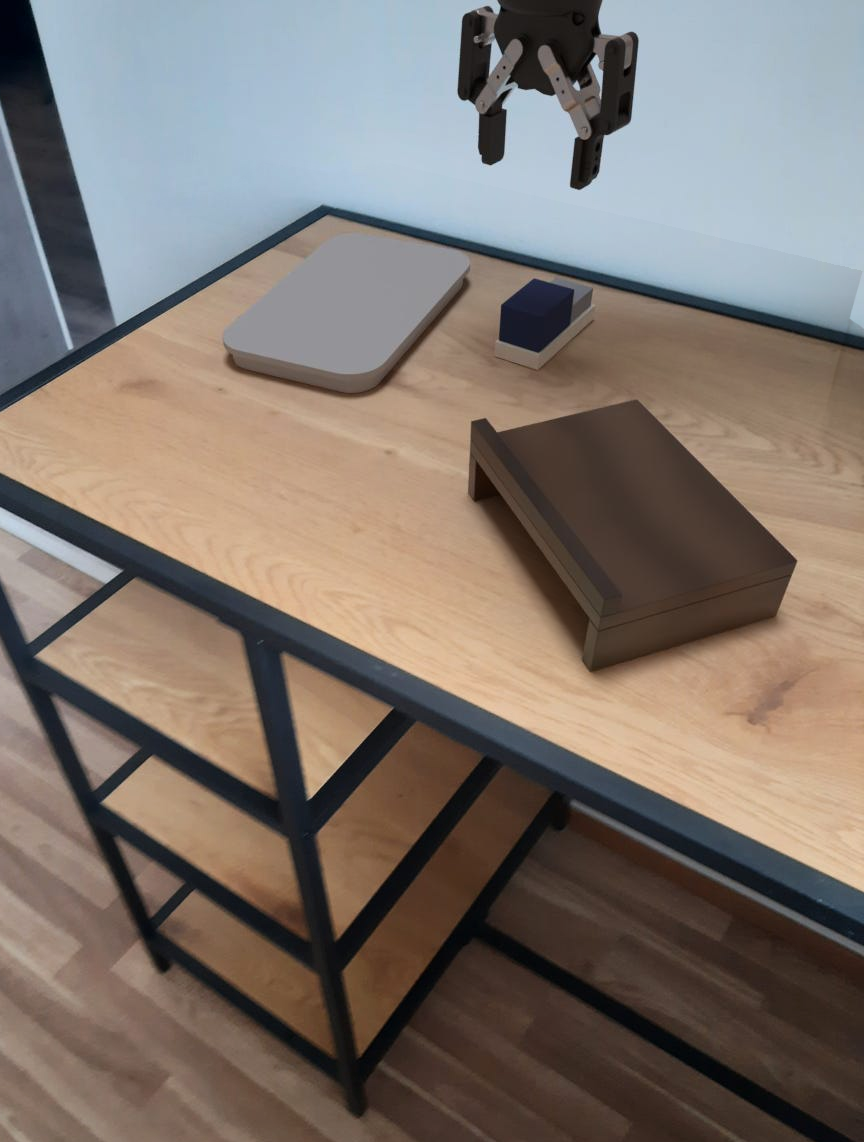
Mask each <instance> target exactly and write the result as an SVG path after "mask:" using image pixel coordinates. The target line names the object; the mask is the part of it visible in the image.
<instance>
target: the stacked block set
mask: <svg viewBox="0 0 864 1142" xmlns="http://www.w3.org/2000/svg"><path fill="white" fill-rule="evenodd" d="M593 293H594V287H592V286H589V285H585V284H582V283H577V282H574V281H571V280H567V279H563V278H560V277H555V278H553V279H552V280H551V281H550V282H549V281H546V280H542V279H538V278H532V279H531V280H530V281H528V282H527V283H526V284H525V285H524V286H522V287H521V288H520V289H518V290H517V291H516V292H515V293H514V294H513V295H511V296H510V297H509V298H507V299H506V300H505V301H504V302H502V303H501V304H500V316H499V317H500V318H499V330H498V331H499V332H498V338H497V339H496V340H495V341H494V351H493V354H494V357H495V358H499V359H501V360H506V361H507V362H510V363H514V364H517V365H521V366H523V367H527V368H529V369H533V370H536V371H539V370H540V369H541V368H542V367H543V366H544V365H545V364H547V362H549V361H550V360H551V359H552V358H554V356H555V355H557V353H558V352H559V351H560V350H561V349H563V348H564V347H565V346H566V345H567V344H568V343H569V342H570V341H571V340H573V339H574V338H575V337H576V336H577V335H578V334H579V333H580V332H581V331H582V330H583V329H584V328H585V327H587V326H588V325H589V324H590V323H591V322H592V321H593V320H594V317H595V308H596V304H593V303H592V300H593Z"/></svg>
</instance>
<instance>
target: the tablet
mask: <svg viewBox="0 0 864 1142" xmlns="http://www.w3.org/2000/svg"><path fill="white" fill-rule="evenodd" d="M470 270H471V260H470V258H469V256H468V255H467V254H465V253H464V252H462V251H459V250H456V249H453V248H447V247H441V246H436V245H431V244H424V243H419V242H414V241H407V240H402V239H397V238H391V237H385V236H380V235H376V234H375V235H374V234H368V233H361V232H350V233H349V232H348V233H342V234H338V235H335V236H332V237H329V238H328V239H326V240H325V241H324V242H323V243H322V244H320V245H319V246H318V247H317V248H316V249H315V250H313V251H312V252H311V253H310V254H309V255H308V256H307V257H306V258H304V259H303V260H302V261H301V262H300V263H299V264H297V266H295V267H294V268H293V269H292V270H291V271H290V272H288V273H287V274H286V275H285V276H284V277H282V279H280V281H278V282H277V283H276V284H275V285H274V286H273V287H272V288H270V289H269V290H268V291H267V292H265V293H264V294H263V295H262V296H261V297H260V298H259V299H258V300H256V301H255V303H253V304H252V305H251V306H250V307H248V308H247V309H246V310H245V311H244V312H243V313H242V314H240V315H239V316H238V317H237V318H236V319H235V320H234V321H233V322H231V323H230V324H229V325H228V326H227V327H226V328H225V329H224V330H223V332H222V336H221V339H222V345H223V348H224V349H225V350H226V351H227V352H228V353H229V354H231V355H232V359H233V362H234V364H235V365H236V366H237V367H239V368H242V369H243V370H247V371H250V372H251V371H252V372H256V373H259V374H265V375H267V376H272V377H275V378H276V377H278V378H280V379H285V380H289V381H292V382H293V381H294V382H297V383H302V384H306V385H310V386H314V387H319V388H323V389H327V390H331V391H334V392H340V393H345V394H358V393H363V392H367V391H370V390H372V389H374V388H375V387H377V386H378V385H379V384H380V383H381V382H382V380H384V378H385V377H386V376H387V375H388V374H389V372H390V371H391V370H392V369H393V368H394V367H395V366H396V364H397V363H398V362H399V361H400V360H401V359H402V357H403V356H404V355H405V354H406V353H407V351H408V350H409V349H410V348H411V347H412V346H413V344H414V343H415V342H416V341H417V340H418V339H419V338H420V336H421V335H422V334H423V333H424V332H425V331H426V330H427V328H429V326H430V325H431V324H432V323H433V321H434V320H435V319H436V318H437V317H438V316H439V314H440V313H441V312H442V311H443V310H444V309H445V307H446V306H447V305H448V304H449V303H450V302H451V301H452V299H453V298H454V297H455V296H456V295H457V293H458V292H459V291H460V290H461V289H462V288H463V286H464V279H465V278H466V277H467V276H468V274H469V273H470Z"/></svg>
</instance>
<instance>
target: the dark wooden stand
mask: <svg viewBox="0 0 864 1142" xmlns="http://www.w3.org/2000/svg"><path fill="white" fill-rule="evenodd" d="M469 438H470V441H469V443H470V444H469V446H470V447H469V459H468V460H469V461H468V481H467V482H468V483H467V493H468V495H469V496H470V497H471V499H472V500H473V501H474V502H475V501H478V500H483V499H486V498H491V497H494V496H499V495H500V496H501V497H502V498H503V500H504V501H505V502H506V504H507V505H508V507H509V508H510V509H511V511H512V512H513V513H514V515H515V517H516V519H518V521H519V522H520V523H521V525H522V526H523V528H524V529H525V530H526V532H527V533H528V535H529V536H530V538H531V539H532V540H533V542H534V543H535V545H536V546H537V547H538V549H539V550H540V551H541V553H542V554H543V555H544V557H545V558H546V559H547V561H548V563H549V564H550V565H551V567H552V568H553V569H554V571H555V572H556V573H557V575H558V576H559V578H560V580H562V582H563V584H564V585H565V586H566V588H567V589H568V591H569V592H570V593H571V595H572V596H573V598H574V599H575V600H576V601H577V603H578V604H579V606H580V607H581V608H582V610H583V611H584V613H585V614H586V615H587V617H588V618H589V620H588V625H587V629H586V630H587V631H586V635H585V641H584V645H583V651H582V657H581V660H582V661H583V663H584V664H585V666H586V668H587V669H588V670H589V672H593V671H597V670H600V669H603V668H607V667H610V666H614V665H617V664H620V663H624V662H627V661H630V660H633V659H634V660H635V659H637V658H640V657H644V656H647V655H650V654H654V653H656V652H660V651H664V650H668V649H670V648H673V647H677V646H680V645H683V644H686V643H690V642H693V641H696V640H699V639H703V638H706V637H709V636H714V635H716V634H719V633H723V632H726V631H730V630H733V629H736V628H737V629H738V628H739V627H740V628H741V627H743V626H746V625H749V624H753V623H756V622H759V621H763V620H766V619H769V618H773V617H776V616H777V614H778V612H779V610H780V607H781V604H782V602H783V599H784V597H785V594H786V592H787V589H788V587H789V584H790V583H791V580H792V576H793V574H794V571H795V569H796V567H797V564H798V559H797V558H796V557H795V556H794V555H793V554H792V553H791V552H790V551H789V550H788V549H787V548H786V547H785V546H784V545H783V544H782V543H781V542H780V541H779V539H777V538H776V537H775V536H774V535H773V534H772V533H771V532H770V531H769V530H768V528H766V527H765V526H764V525H763V523H761V522H760V521H759V520H758V519H757V518H756V517H755V516H754V515H753V514H752V513H751V512H750V511H749V510H748V509H747V508H746V507H745V506H744V505H743V504H742V503H741V502H740V501H739V500H738V499H737V498H736V497H735V496H734V495H733V494H732V493H731V492H730V491H729V490H728V488H726V487H725V486H724V485H723V484H722V483H721V482H720V481H719V479H717V478H716V477H715V476H714V474H713V473H711V472H710V471H709V470H708V469H707V468H706V467H705V466H704V465H703V464H702V462H700V460H698V459H697V457H695V456H694V455H693V453H692V452H690V451H689V450H688V448H686V447H685V446H684V445H683V444H682V443H681V442H680V441H679V440H678V438H676V436H674V435H673V434H672V433H671V431H669V430H668V429H667V428H666V426H664V425H663V424H662V422H660V421H659V419H657V417H656V416H655V415H654V414H652V412H650V411H649V410H648V408H647V407H645V405H643V403H642V402H641V401H640V400H639V399H637V398H636V399H632V400H628V401H623V402H620V403H615V404H611V405H607V406H602V407H598V408H595V409H589V410H586V411H581V412H577V413H573V414H568V415H565V416H560V417H556V418H552V419H548V420H547V419H546V420H544V421H543V420H542V421H540V422H535V423H531V424H527V425H522V426H518V427H514V428H509V429H506V430H505V429H504V430H500V431H497V430H496V429H495V428H494V426H493V425H492V424H491V422H490V421H489V420H488V419H487V418H486V417H483V418H479V419H475V420H471V421H470V437H469Z"/></svg>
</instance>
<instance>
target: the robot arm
mask: <svg viewBox="0 0 864 1142" xmlns="http://www.w3.org/2000/svg"><path fill="white" fill-rule="evenodd" d="M496 1H497V3H498V4H499V11H498V13H495V12H494V9H493V8H492V6H490V5H485V6H482V7H478V8H475V9H473V10H471V11H469V12H466V13H465V14H464V15H463V16H462V18H461V29H460V46H459V60H458V61H459V62H458V75H457V76H458V77H457V91H456V92H457V96H458V98H459V99H460V100H461V101H462V102H465V101H468V102H470V103H471V104H473V105H474V107H475V110H476V111H477V113H478V131H477V132H478V135H477V138H478V139H477V150H478V154H479V155H480V156H481V160H480V161H481V162H482V164H483V165H488V166H493V165H496V164H497V163H499V162H501V161H502V160H503V159H504V156H505V153H506V152H505V149H506V132H507V116H508V113H507V112H508V109H506V108H503V105H505V104H506V101H507V100H508V99H509V97H510V96H511V95H512V94H513V92H514V90H515V89H516V88H517V89H518V90H523V91H530V90H535V91H537V92H539V93H541V94H542V95H545V96H550V97H552V96H553V97H554V96H556V97H557V100H558V102H559V104H560V107H561V108H562V110H563V111H564V112H566V113H567V114H568V115H569V117H570V119H571V122H572V124H573V126H574V128H575V131H576V133H577V136H576V137H574V141H573V151H572V160H571V171H570V179H569V187H570V188H571V189H574V190H577V191H581V190H583V189H584V188H586V187H588V186H589V185H591V183H592V182H593V180H596V179H597V177H598V175H599V174H600V169H601V161H602V154H603V145H604V138H605V136H610V135H612V134H614V133H615V132H617V131H619V130H620V129H622V128H625V127H626V126H628V125H629V124H630V123H631V121H632V117H633V116H632V115H633V106H634V95H635V84H636V75H637V74H636V73H637V63H638V53H639V43H640V40H639V36H638V34H637V33H636V32H634V31H628V32H625V33H623V34H621V35H615V34H603V33H602V30H601V27H600V20H599V14H600V10H601V8H602V7H601V6H602V4H603V1H604V0H496ZM494 42H496V44H497V46H498V49H499V51H500V54H501V55H502V56H501V58H500V59H499V61H498V62H497V64H496V65H495V67H494V68H493V70H492V71H491V73H490V68H491V56H492V55H491V54H492V46H493V45H492V44H493V43H494ZM596 56H597V57H598V61H599V62H598V64H597V65H598V69H599V70H601V71H602V82H601V86H600V83H599V80H598V78H597V76H596V74H595V70H594V69H593V66H592V63H591V62H592V61H593V60H594V59H595V57H596ZM576 82H577V84H578V86H579V90H577V88H575V84H576ZM600 93H601V95H600Z"/></svg>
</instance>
